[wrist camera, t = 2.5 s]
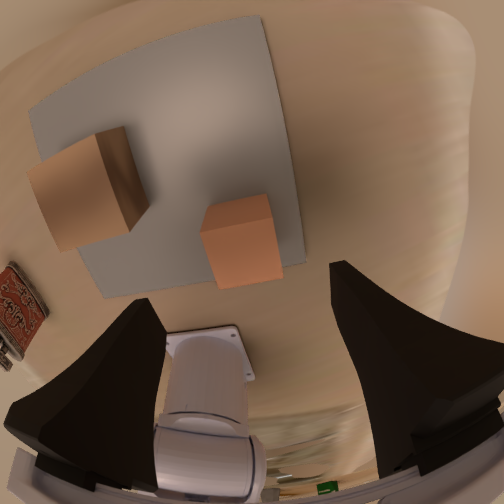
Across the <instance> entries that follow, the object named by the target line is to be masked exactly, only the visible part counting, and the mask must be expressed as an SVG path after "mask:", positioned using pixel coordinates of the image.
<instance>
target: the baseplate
mask: <svg viewBox="0 0 504 504" xmlns="http://www.w3.org/2000/svg"><path fill="white" fill-rule="evenodd" d="M28 112H29V117H30V121H31V125H32V129H33V133H34V137H35V141H36V144H37V148H38V151H39V154H40V158H41V161H42V162H43V161H45V160H47V159H48V158H50V157H52V156H54V155H55V154H57V153H59V152H61V151H62V150H64V149H66V148H68V147H70V146H72V145H73V144H75V143H77V142H79V141H81V140H83V139H85V138H87V137H89V136H91V135H93V134H96V133H99V132H103V131H106V130H110V129H114V128H117V127H121V126H124V128H125V132H126V135H127V139H128V142H129V146H130V149H131V152H132V155H133V158H134V162H135V165H136V168H137V171H138V174H139V177H140V180H141V183H142V186H143V189H144V192H145V194H146V197H147V200H148V203H149V206H150V207H149V208H148V210H147V211H146V212H145V213H144V215H143V216H142V217H141V218H140V220H139V221H138V222H137V224H136V225H135V226H134V227H133V229H132V230H131V231H130V233H126V234H122V235H119V236H115V237H112V238H108V239H105V240H101V241H98V242H94V243H91V244H87V245H84V246H81V247H77V250H78V252H79V254H80V256H81V258H82V259H83V261H84V263H85V265H86V267H87V269H88V271H89V273H90V274H91V276H92V278H93V280H94V282H95V283H96V285H97V287H98V289H99V290H100V292H101V294H102V295H103V297H104V299H106V298H112V297H119V296H125V295H131V294H137V293H143V292H149V291H155V290H161V289H167V288H173V287H179V286H184V285H190V284H196V283H201V282H207V281H212V280H215V277H214V274H213V271H212V268H211V265H210V263H209V260H208V257H207V254H206V251H205V248H204V245H203V242H202V239H201V236H200V229H201V226H202V223H203V220H204V216H205V213H206V210H207V207H208V206H210V205H215V204H219V203H223V202H228V201H232V200H237V199H242V198H247V197H251V196H256V195H261V194H266V193H267V197H268V201H269V205H270V209H271V213H272V217H273V222H274V228H275V233H276V238H277V244H278V249H279V254H280V260H281V265H282V267H286V266H291V265H297V264H302V263H306V255H305V247H304V239H303V231H302V224H301V217H300V210H299V203H298V197H297V190H296V184H295V178H294V172H293V166H292V160H291V154H290V149H289V143H288V138H287V133H286V127H285V122H284V117H283V112H282V107H281V102H280V98H279V93H278V88H277V84H276V79H275V75H274V71H273V66H272V62H271V58H270V54H269V50H268V46H267V42H266V38H265V34H264V30H263V26H262V23H261V19H260V15H254V16H247V17H241V18H236V19H230V20H226V21H221V22H216V23H212V24H208V25H204V26H200V27H196V28H193V29H189V30H186V31H183V32H179V33H176V34H173V35H170V36H167V37H164V38H161V39H159V40H156V41H153V42H150V43H148V44H145V45H143V46H140V47H138V48H135V49H133V50H131V51H128V52H126V53H124V54H122V55H120V56H117V57H115V58H113V59H111V60H109V61H107V62H105V63H103V64H101V65H99V66H97V67H95V68H94V69H92V70H90V71H88V72H86V73H84V74H83V75H81V76H79V77H78V78H76V79H74V80H72V81H71V82H69V83H68V84H66V85H64V86H63V87H61V88H60V89H58V90H57V91H55V92H54V93H52V94H51V95H49V96H48V97H46V98H45V99H44V100H42V101H41V102H39V103H38V104H37V105H35V106H34V107H33V108H31V109H30V110H29V111H28Z"/></svg>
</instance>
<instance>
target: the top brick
mask: <svg viewBox="0 0 504 504" xmlns="http://www.w3.org/2000/svg"><path fill="white" fill-rule="evenodd" d="M200 236H201V239H202V242H203V245H204V248H205V251H206V254H207V257H208V260H209V263H210V265H211V268H212V271H213V274H214V277H215V280H216V283H217V285H218V288H219V290H221V289H227V288H232V287H238V286H243V285H249V284H254V283H260V282H265V281H270V280H275V279H280V278H284V276H283V271H282V265H281V260H280V254H279V249H278V244H277V238H276V233H275V228H274V222H273V217H272V213H271V209H270V205H269V201H268V197H267V193H266V194H261V195H256V196H251V197H247V198H242V199H237V200H232V201H228V202H223V203H219V204H215V205H210V206H208V207H207V210H206V213H205V216H204V220H203V223H202V226H201V229H200Z"/></svg>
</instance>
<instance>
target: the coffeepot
mask: <svg viewBox="0 0 504 504" xmlns="http://www.w3.org/2000/svg"><path fill="white" fill-rule="evenodd" d="M279 494H280V489H278V488H272V489H262V491H261V494H260V495H261V499H262V502H274V501H279Z"/></svg>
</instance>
